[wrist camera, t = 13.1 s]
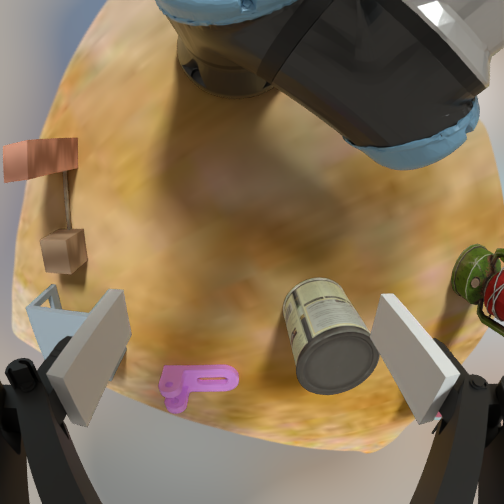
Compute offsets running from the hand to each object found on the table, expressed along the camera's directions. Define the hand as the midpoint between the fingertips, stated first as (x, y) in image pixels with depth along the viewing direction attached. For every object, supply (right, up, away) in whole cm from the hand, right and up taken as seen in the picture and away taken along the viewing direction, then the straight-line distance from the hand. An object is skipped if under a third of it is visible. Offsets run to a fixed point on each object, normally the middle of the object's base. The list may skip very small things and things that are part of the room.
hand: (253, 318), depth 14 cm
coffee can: (+10, -5, +31) cm, 33 cm away
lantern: (+41, 0, +30) cm, 51 cm away
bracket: (-9, -19, +35) cm, 41 cm away
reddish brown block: (-28, +11, +24) cm, 38 cm away
